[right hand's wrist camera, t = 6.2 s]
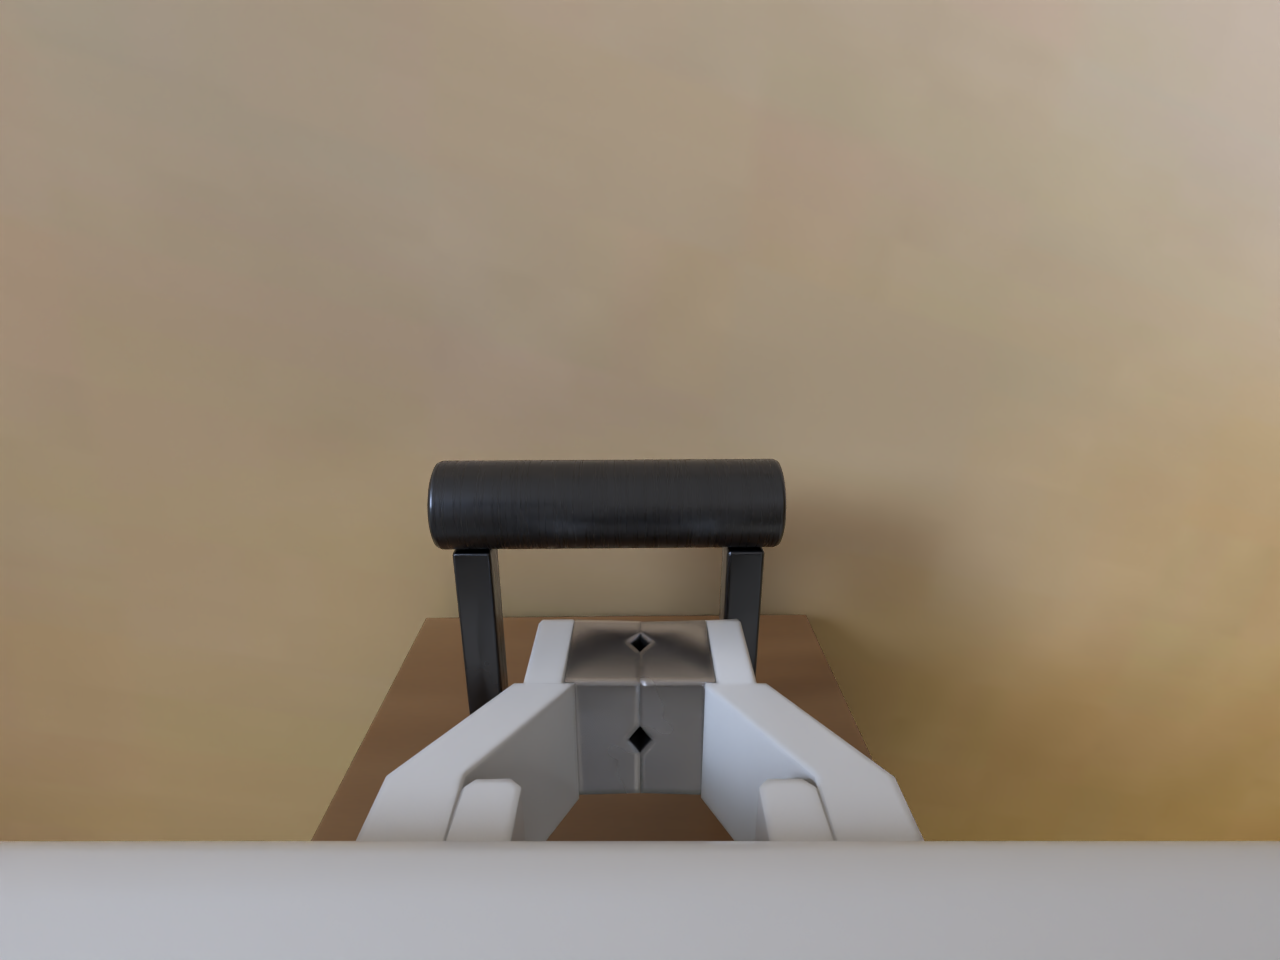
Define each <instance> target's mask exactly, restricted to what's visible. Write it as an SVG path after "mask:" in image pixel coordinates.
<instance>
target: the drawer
mask: <svg viewBox="0 0 1280 960" xmlns="http://www.w3.org/2000/svg"><path fill="white" fill-rule="evenodd" d="M427 509H428V522H429V528H430V532H431V536H432V539H433V542H434V544H435V545H436V546H437V547H438V548H441V549H455V551H454V553H453V563H454V572H455V582H456V591H457V601H458V610H459V618H427V619H426V620H425V622H424V624H423V626H422V628H421V629H420V631H419V633H418V635H417V637H416V639H415V641H414V643H413V645H412V647H411V649H410V651H409V653H408V655H407V656H406V658H405V660H404V662H403V664H402V666H401V668H400V670H399V672H398V674H397V676H396V678H395V680H394V682H393V684H392V685H391V687H390V689H389V691H388V693H387V695H386V697H385V699H384V701H383V703H382V705H381V707H380V709H379V711H378V712H377V714H376V716H375V718H374V720H373V722H372V724H371V726H370V728H369V730H368V732H367V734H366V736H365V738H364V740H363V741H362V743H361V745H360V747H359V749H358V751H357V753H356V755H355V757H354V759H353V761H352V763H351V765H350V767H349V768H348V770H347V772H346V774H345V776H344V778H343V780H342V782H341V784H340V786H339V788H338V790H337V792H336V794H335V795H334V797H333V799H332V801H331V803H330V805H329V807H328V809H327V811H326V813H325V815H324V817H323V819H322V821H321V823H320V824H319V826H318V828H317V830H316V832H315V834H314V836H313V838H312V840H311V841H356V839H357V837H358V835H359V833H360V831H361V829H362V826H363V824H364V822H365V820H366V818H367V816H368V814H369V812H370V809H371V807H372V805H373V803H374V801H375V799H376V797H377V795H378V792H379V790H380V788H381V786H382V784H383V782H384V780H385V778H386V776H387V775H388V774H390V773H391V772H392V771H394V770H395V769H397V768H398V767H399V766H401V765H402V764H403V763H405V762H406V761H408V760H409V759H410V758H412V757H413V756H415V755H416V754H417V753H419V752H420V751H421V750H423V749H424V748H426V747H427V746H428V745H430V744H431V743H432V742H434V741H435V740H437V739H438V738H439V737H441V736H442V735H443V734H445V733H446V732H448V731H449V730H450V729H452V728H453V727H454V726H456V725H457V724H459V723H460V722H461V721H463V720H464V719H465V718H467V717H468V716H470V715H471V714H472V713H474V712H475V711H476V710H478V709H479V708H481V707H482V706H483V705H485V704H486V703H487V702H489V701H490V700H492V699H493V698H494V697H496V696H497V695H498V694H500V693H501V692H503V691H504V690H505V689H507V688H508V687H510V686H511V685H512V684H514V683H524V679H525V675H526V671H527V667H528V663H529V660H530V656H531V652H532V648H533V644H534V640H535V636H536V633H537V629H538V625H539V623H540V622H541V621H542V620H554V619H573V620H574V621H575V620H617V621H640V622H651V621H692V620H723V619H738V620H739V621H740V622H741V626H742V629H743V633H744V637H745V641H746V645H747V648H748V652H749V656H750V660H751V664H752V667H753V671H754V675H755V679H756V683H766V684H768V685H769V686H771V687H772V688H773V689H775V690H776V691H777V692H779V693H780V694H781V695H783V696H784V697H786V698H787V699H788V700H790V701H791V702H792V703H794V704H795V705H797V706H798V707H799V708H801V709H802V710H803V711H805V712H806V713H808V714H809V715H810V716H812V717H813V718H814V719H816V720H817V721H818V722H820V723H821V724H823V725H824V726H825V727H827V728H828V729H829V730H831V731H832V732H834V733H835V734H836V735H838V736H839V737H840V738H842V739H843V740H845V741H846V742H847V743H849V744H850V745H851V746H853V747H854V748H855V749H857V750H858V751H860V752H861V753H862V754H864V755H865V756H866V757H868V758H869V759H871V760H872V758H871V756H870V753H869V751H868V749H867V747H866V745H865V742H864V740H863V738H862V736H861V734H860V732H859V729H858V727H857V725H856V723H855V721H854V719H853V716H852V714H851V712H850V710H849V708H848V705H847V703H846V701H845V699H844V697H843V695H842V692H841V690H840V688H839V686H838V684H837V682H836V679H835V677H834V675H833V673H832V671H831V668H830V666H829V664H828V662H827V660H826V658H825V655H824V653H823V651H822V649H821V647H820V644H819V642H818V640H817V638H816V636H815V634H814V631H813V629H812V627H811V625H810V623H809V621H808V618H807V616H806V615H760V609H761V595H762V580H763V566H764V551H763V548H762V547H775V546H777V545H779V544H780V542H781V539H782V536H783V533H784V528H785V521H786V489H785V481H784V476H783V472H782V469H781V466H780V464H779V462H778V461H776V460H774V459H693V460H513V461H442V462H439V463H437V464H436V466H435V467H434V469H433V472H432V475H431V479H430V483H429V489H428V503H427ZM694 547H722V569H721V591H720V613H719V615H718V616H606V617H503V614H502V602H501V589H500V577H499V565H498V552H497V549H560V548H694ZM872 761H873V760H872ZM546 841H734V840H733V838H732V837H731V836H730V834H729V833H728V832H727V831H726V829H725V828H724V827H723V825H722V824H721V823H720V822H719V820H718V819H717V818H716V816H715V815H714V814H713V813H712V811H711V810H710V809H709V807H708V806H707V805H706V804H705V802H704V801H703V800H702V798H701V795H689V794H654V793H625V794H590V795H579V799H578V800H577V802H576V803H575V804H574V805H573V807H572V808H571V809H570V811H569V812H568V813H567V814H566V816H565V817H564V818H563V820H562V821H561V822H560V823H559V825H558V826H557V827H556V829H555V830H554V831H553V832H552V834H551V835H550V836H549V838H548V839H547V840H546Z"/></svg>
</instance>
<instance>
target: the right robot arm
mask: <svg viewBox="0 0 1280 960" xmlns="http://www.w3.org/2000/svg"><path fill="white" fill-rule="evenodd" d="M625 793H654V794H689V795H701V798H702V800H703V801H704V802H705V804H706V805H707V806H708V807H709V809H710V810H711V811H712V813H713V814H714V815H715V816H716V818H717V819H718V820H719V822H720V823H721V824H722V825H723V827H724V828H725V829H726V831H727V832H728V833H729V834H730V836H731V837H732V838H733V840H734V841H546V840H547V839H548V838H549V836H550V835H551V834H552V832H553V831H554V830H555V829H556V827H557V826H558V825H559V823H560V822H561V821H562V820H563V818H564V817H565V816H566V814H567V813H568V812H569V811H570V809H571V808H572V807H573V805H574V804H575V803H576V802H577V800H578V799H579V795H590V794H625ZM0 960H1280V841H924V839H923V837H922V835H921V833H920V831H919V828H918V826H917V824H916V822H915V820H914V818H913V815H912V813H911V811H910V809H909V807H908V805H907V803H906V800H905V798H904V796H903V794H902V792H901V790H900V788H899V785H898V783H897V781H896V779H895V777H894V776H892V775H891V774H890V773H888V772H887V771H886V770H884V769H883V768H882V767H880V766H879V765H877V764H876V763H875V762H873V761H872V760H871V759H869V758H868V757H866V756H865V755H864V754H862V753H861V752H860V751H858V750H857V749H855V748H854V747H853V746H851V745H850V744H849V743H847V742H846V741H845V740H843V739H842V738H840V737H839V736H838V735H836V734H835V733H834V732H832V731H831V730H829V729H828V728H827V727H825V726H824V725H823V724H821V723H820V722H818V721H817V720H816V719H814V718H813V717H812V716H810V715H809V714H808V713H806V712H805V711H803V710H802V709H801V708H799V707H798V706H797V705H795V704H794V703H792V702H791V701H790V700H788V699H787V698H786V697H784V696H783V695H781V694H780V693H779V692H777V691H776V690H775V689H773V688H772V687H771V686H769V685H768V684H766V683H756V679H755V675H754V671H753V667H752V664H751V660H750V656H749V652H748V648H747V645H746V641H745V637H744V633H743V629H742V626H741V622H740V621H739V620H738V619H723V620H692V621H651V622H640V621H617V620H575V621H574V620H573V619H554V620H542V621H541V622H540V623H539V625H538V629H537V633H536V636H535V640H534V644H533V648H532V652H531V656H530V660H529V663H528V667H527V671H526V675H525V679H524V683H514V684H512V685H511V686H510V687H508V688H507V689H505V690H504V691H503V692H501V693H500V694H498V695H497V696H496V697H494V698H493V699H492V700H490V701H489V702H487V703H486V704H485V705H483V706H482V707H481V708H479V709H478V710H476V711H475V712H474V713H472V714H471V715H470V716H468V717H467V718H465V719H464V720H463V721H461V722H460V723H459V724H457V725H456V726H454V727H453V728H452V729H450V730H449V731H448V732H446V733H445V734H443V735H442V736H441V737H439V738H438V739H437V740H435V741H434V742H432V743H431V744H430V745H428V746H427V747H426V748H424V749H423V750H421V751H420V752H419V753H417V754H416V755H415V756H413V757H412V758H410V759H409V760H408V761H406V762H405V763H403V764H402V765H401V766H399V767H398V768H397V769H395V770H394V771H392V772H391V773H390V774H388V775H387V776H386V778H385V780H384V782H383V784H382V786H381V788H380V790H379V792H378V795H377V797H376V799H375V801H374V803H373V805H372V807H371V809H370V812H369V814H368V816H367V818H366V820H365V822H364V824H363V826H362V829H361V831H360V833H359V835H358V837H357V839H356V841H0Z"/></svg>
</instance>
